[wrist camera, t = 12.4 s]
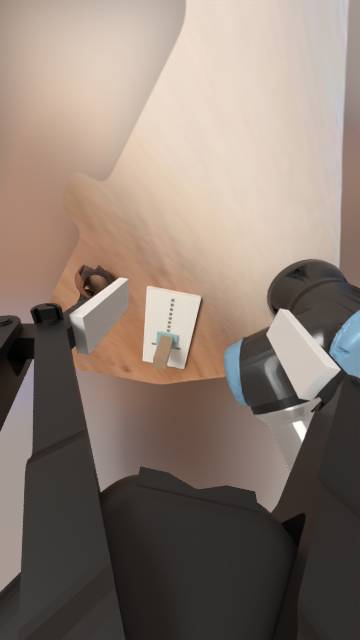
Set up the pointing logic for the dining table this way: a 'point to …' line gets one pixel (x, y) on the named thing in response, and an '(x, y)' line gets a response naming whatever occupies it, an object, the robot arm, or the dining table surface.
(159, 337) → the stub
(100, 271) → the dark brown looped ring
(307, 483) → the robot arm
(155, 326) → the board
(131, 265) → the dining table surface
